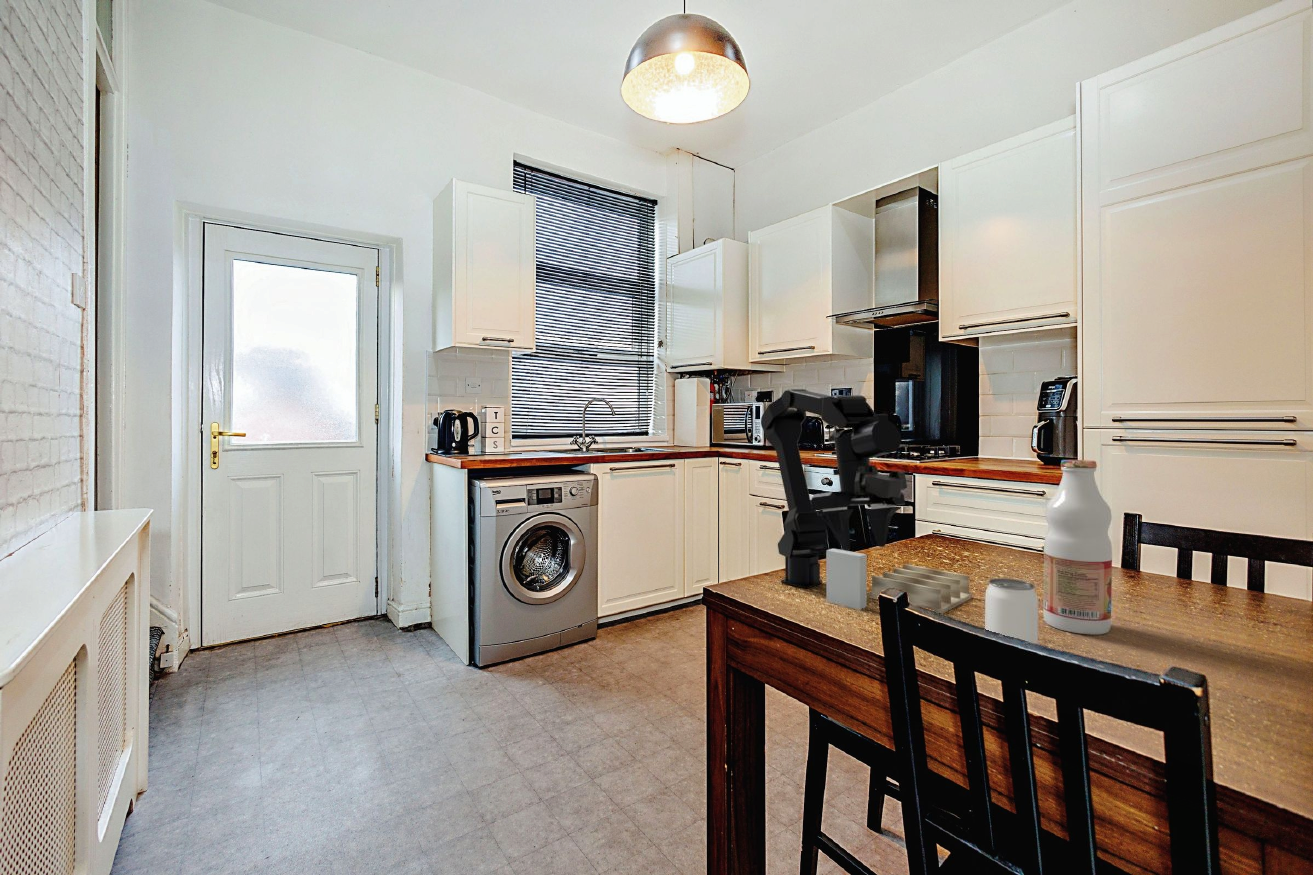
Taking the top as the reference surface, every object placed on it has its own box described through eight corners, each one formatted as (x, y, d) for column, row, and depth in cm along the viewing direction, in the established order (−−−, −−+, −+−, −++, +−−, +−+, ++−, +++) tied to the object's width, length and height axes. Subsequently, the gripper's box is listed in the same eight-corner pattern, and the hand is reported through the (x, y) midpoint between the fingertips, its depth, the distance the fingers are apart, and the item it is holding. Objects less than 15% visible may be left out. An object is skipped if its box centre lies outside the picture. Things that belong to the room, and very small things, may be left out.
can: (1045, 678, 82) (1046, 591, 81) (993, 674, 83) (994, 588, 83) (1026, 659, 88) (1027, 578, 88) (978, 656, 89) (979, 576, 89)
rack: (868, 597, 118) (868, 575, 118) (902, 583, 128) (902, 563, 128) (941, 614, 108) (941, 590, 108) (972, 597, 118) (972, 575, 118)
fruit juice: (1030, 617, 106) (1032, 458, 105) (1082, 615, 107) (1084, 458, 105) (1069, 636, 97) (1071, 463, 96) (1125, 635, 97) (1128, 462, 96)
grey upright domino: (826, 601, 116) (826, 550, 116) (833, 598, 118) (833, 548, 118) (859, 609, 111) (859, 556, 111) (866, 607, 113) (866, 554, 112)
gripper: (852, 454, 99) (865, 550, 96) (924, 455, 108) (937, 543, 106) (804, 464, 108) (814, 552, 105) (873, 464, 118) (885, 545, 115)
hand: (864, 548), depth 108 cm, fingers open, 9 cm apart
